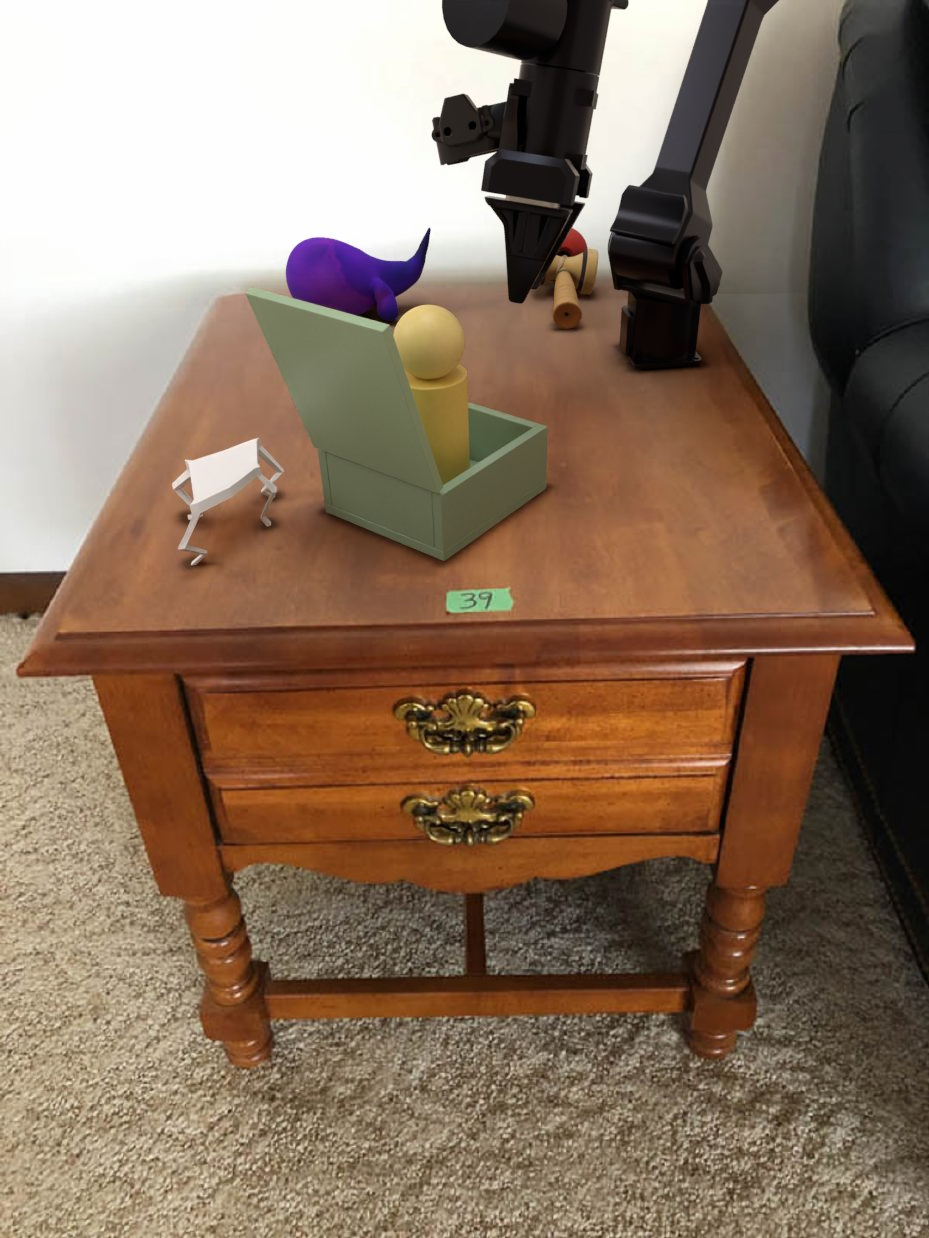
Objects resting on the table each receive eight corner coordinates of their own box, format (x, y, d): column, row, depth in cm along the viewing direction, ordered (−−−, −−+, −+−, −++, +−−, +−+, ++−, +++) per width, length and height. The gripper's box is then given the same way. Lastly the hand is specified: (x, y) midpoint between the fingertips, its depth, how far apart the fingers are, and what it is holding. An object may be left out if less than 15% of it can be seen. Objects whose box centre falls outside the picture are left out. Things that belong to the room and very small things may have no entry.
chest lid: (251, 286, 65) (244, 293, 64) (389, 324, 59) (382, 331, 58) (319, 441, 75) (313, 447, 74) (443, 487, 69) (437, 493, 68)
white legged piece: (186, 492, 81) (174, 435, 78) (292, 490, 81) (284, 433, 78) (147, 579, 71) (131, 518, 68) (267, 577, 71) (256, 516, 68)
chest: (431, 448, 86) (428, 389, 83) (546, 488, 80) (548, 426, 77) (325, 512, 78) (317, 449, 75) (444, 561, 72) (441, 495, 69)
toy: (419, 305, 116) (284, 303, 113) (424, 216, 111) (282, 211, 108) (431, 333, 109) (288, 331, 106) (437, 240, 104) (287, 235, 101)
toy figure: (424, 469, 81) (413, 289, 73) (482, 483, 79) (478, 300, 71) (389, 499, 78) (373, 314, 69) (449, 515, 75) (441, 325, 67)
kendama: (611, 339, 107) (598, 260, 120) (603, 283, 102) (591, 207, 115) (537, 353, 108) (532, 273, 121) (527, 298, 104) (522, 221, 116)
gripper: (472, 65, 83) (445, 267, 89) (422, 40, 66) (395, 291, 73) (608, 86, 82) (572, 289, 88) (594, 66, 65) (550, 318, 71)
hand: (523, 295), depth 80 cm, fingers open, 9 cm apart
